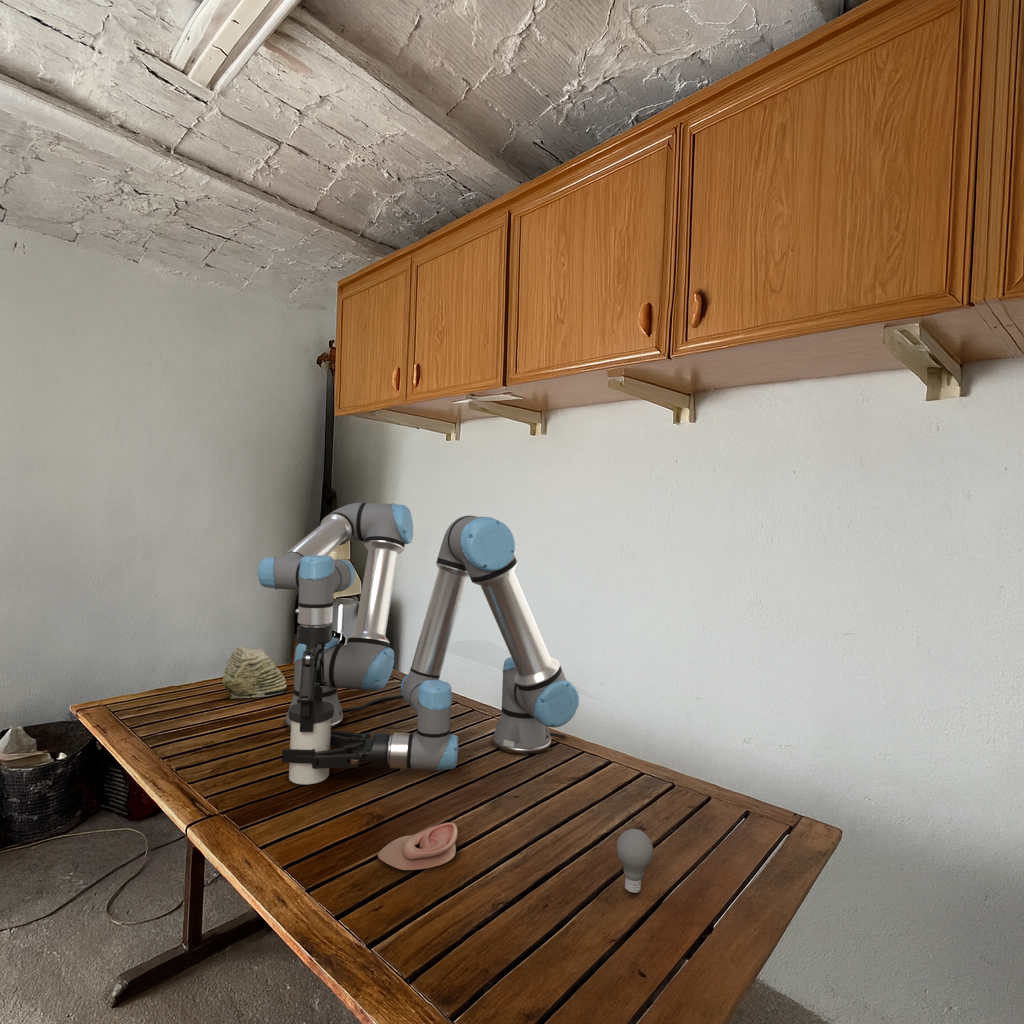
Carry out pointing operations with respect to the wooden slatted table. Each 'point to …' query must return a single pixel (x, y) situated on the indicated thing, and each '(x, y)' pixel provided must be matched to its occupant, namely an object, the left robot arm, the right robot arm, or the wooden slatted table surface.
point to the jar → (309, 741)
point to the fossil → (252, 674)
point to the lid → (321, 711)
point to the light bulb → (634, 857)
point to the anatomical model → (422, 848)
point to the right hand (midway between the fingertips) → (289, 747)
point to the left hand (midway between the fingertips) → (311, 722)
